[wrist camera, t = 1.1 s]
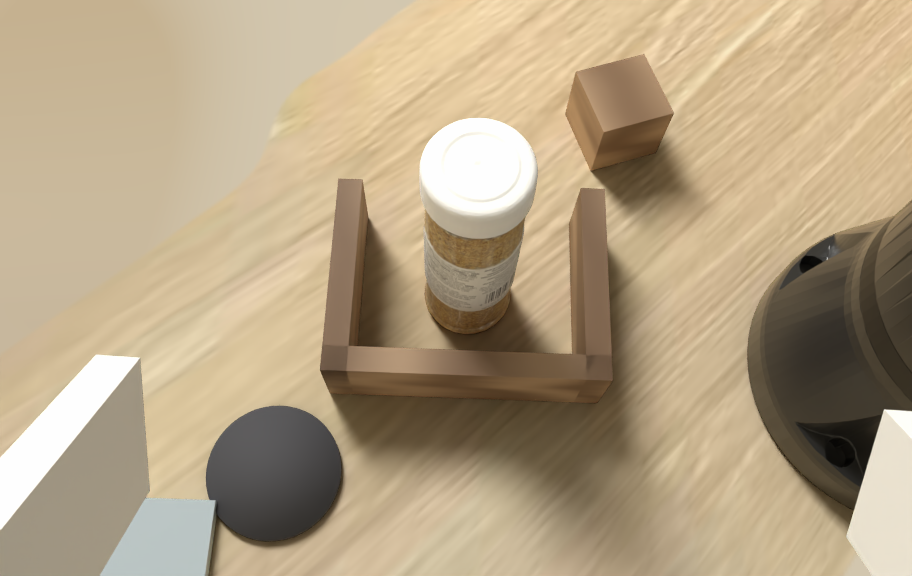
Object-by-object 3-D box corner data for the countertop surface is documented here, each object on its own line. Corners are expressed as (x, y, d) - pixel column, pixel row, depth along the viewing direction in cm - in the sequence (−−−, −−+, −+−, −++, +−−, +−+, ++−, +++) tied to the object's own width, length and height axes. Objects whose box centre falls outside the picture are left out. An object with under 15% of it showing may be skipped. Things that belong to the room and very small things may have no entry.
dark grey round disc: (346, 409, 42) (346, 408, 41) (335, 543, 39) (334, 542, 39) (217, 404, 41) (216, 403, 41) (198, 539, 39) (196, 538, 39)
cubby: (590, 225, 46) (604, 189, 42) (597, 403, 42) (613, 380, 38) (346, 215, 46) (338, 178, 42) (330, 393, 42) (319, 370, 38)
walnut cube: (628, 97, 49) (644, 54, 46) (655, 153, 48) (673, 113, 44) (565, 114, 49) (575, 71, 45) (590, 171, 47) (603, 132, 44)
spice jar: (477, 242, 45) (494, 94, 33) (527, 308, 44) (563, 179, 31) (406, 285, 44) (396, 148, 32) (454, 354, 43) (463, 239, 30)
